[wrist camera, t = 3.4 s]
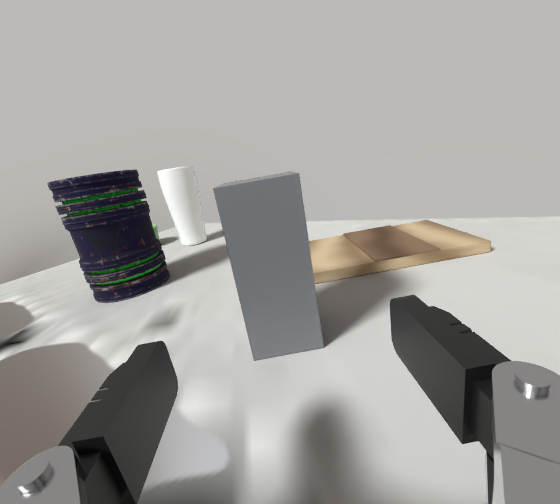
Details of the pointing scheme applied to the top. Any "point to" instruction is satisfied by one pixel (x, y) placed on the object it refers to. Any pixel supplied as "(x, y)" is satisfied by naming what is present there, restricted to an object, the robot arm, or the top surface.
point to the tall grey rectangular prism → (271, 263)
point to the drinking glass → (184, 203)
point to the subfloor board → (390, 249)
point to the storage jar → (112, 233)
